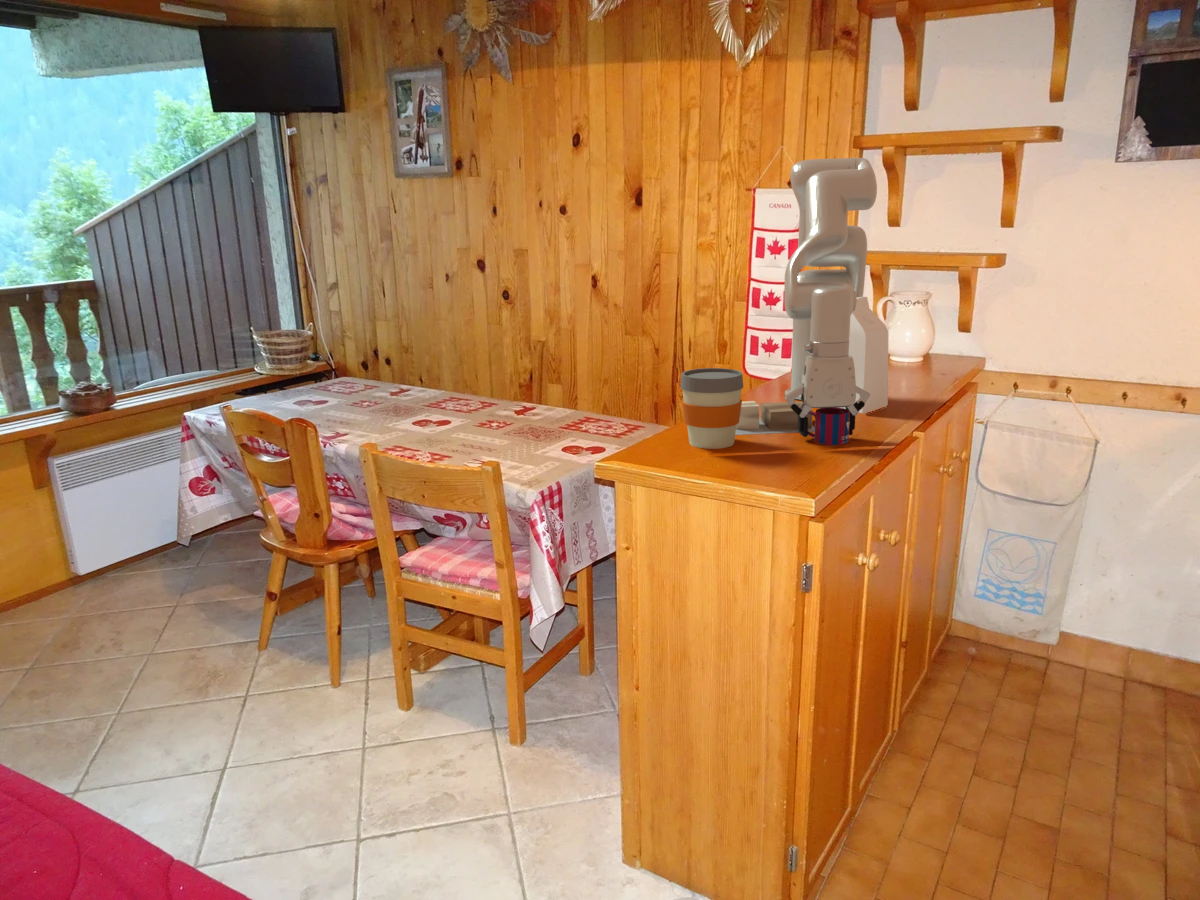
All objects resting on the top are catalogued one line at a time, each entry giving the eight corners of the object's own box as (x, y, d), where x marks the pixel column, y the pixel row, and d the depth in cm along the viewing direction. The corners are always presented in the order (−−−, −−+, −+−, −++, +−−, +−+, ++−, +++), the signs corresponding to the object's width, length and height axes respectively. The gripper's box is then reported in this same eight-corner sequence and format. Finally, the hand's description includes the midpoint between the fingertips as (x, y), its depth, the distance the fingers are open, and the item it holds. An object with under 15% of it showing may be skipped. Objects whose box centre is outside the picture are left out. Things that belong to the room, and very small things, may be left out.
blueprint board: (723, 422, 192) (723, 419, 192) (801, 418, 193) (801, 416, 193) (735, 437, 179) (735, 434, 179) (819, 433, 180) (819, 431, 179)
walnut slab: (760, 420, 190) (760, 403, 189) (800, 418, 190) (800, 401, 189) (770, 430, 181) (770, 412, 180) (811, 428, 182) (812, 410, 181)
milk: (844, 400, 210) (849, 294, 203) (887, 406, 202) (894, 296, 195) (818, 408, 202) (822, 299, 195) (862, 415, 194) (867, 301, 187)
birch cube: (731, 424, 188) (731, 402, 187) (753, 423, 188) (754, 401, 187) (736, 429, 183) (736, 406, 182) (759, 428, 183) (759, 405, 182)
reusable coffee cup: (729, 456, 165) (730, 380, 161) (670, 450, 171) (670, 376, 167) (751, 441, 176) (752, 369, 172) (695, 435, 182) (695, 366, 178)
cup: (840, 449, 167) (842, 416, 165) (793, 442, 173) (794, 410, 171) (853, 442, 172) (855, 409, 171) (807, 435, 178) (809, 404, 177)
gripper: (791, 354, 164) (788, 440, 168) (879, 351, 164) (874, 437, 169) (781, 348, 171) (779, 431, 176) (865, 345, 172) (861, 428, 176)
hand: (825, 434), depth 172 cm, fingers closed on cup, 8 cm apart
